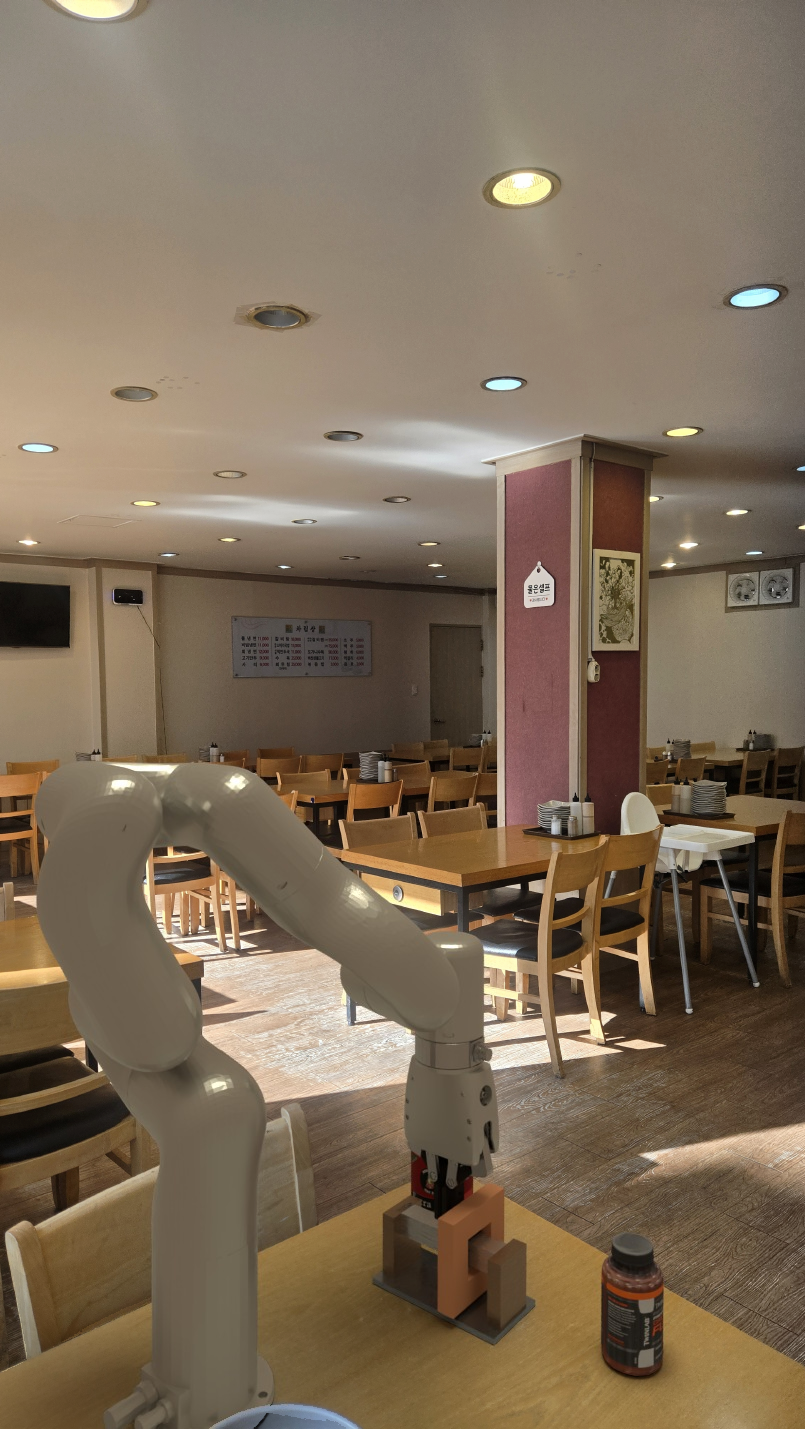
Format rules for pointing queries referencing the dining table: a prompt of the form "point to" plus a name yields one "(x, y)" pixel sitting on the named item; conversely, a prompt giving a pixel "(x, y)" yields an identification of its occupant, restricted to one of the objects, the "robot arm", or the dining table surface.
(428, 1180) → the canned food
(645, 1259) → the supplement bottle
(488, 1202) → the collar
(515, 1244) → the stand
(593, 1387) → the dining table surface
